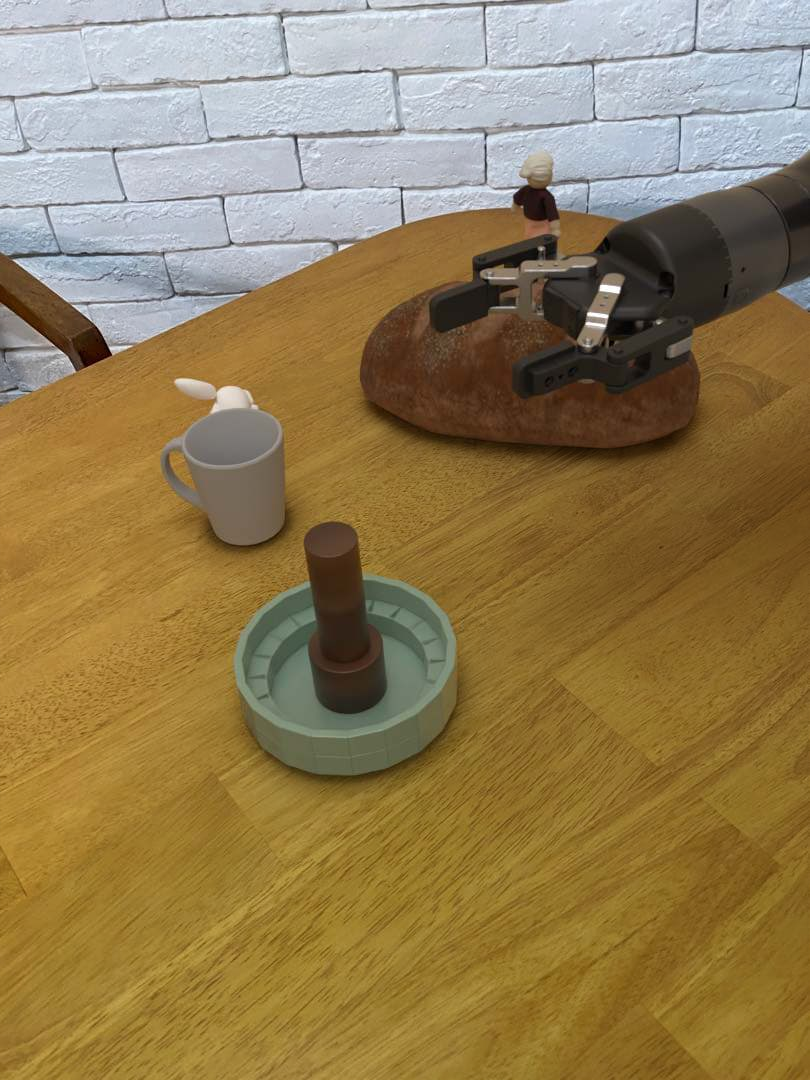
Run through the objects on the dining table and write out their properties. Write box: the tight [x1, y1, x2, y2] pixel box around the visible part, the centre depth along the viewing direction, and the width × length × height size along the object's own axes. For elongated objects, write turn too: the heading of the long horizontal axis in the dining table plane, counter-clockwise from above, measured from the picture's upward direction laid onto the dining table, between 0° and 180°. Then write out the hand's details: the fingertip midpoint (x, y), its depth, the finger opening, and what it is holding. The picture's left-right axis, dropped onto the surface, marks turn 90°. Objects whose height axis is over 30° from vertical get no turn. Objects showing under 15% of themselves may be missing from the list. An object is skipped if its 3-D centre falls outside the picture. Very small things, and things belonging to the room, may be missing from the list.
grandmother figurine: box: [510, 150, 562, 282], centre depth 113 cm, size 8×4×13 cm, turn 43°
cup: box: [159, 408, 286, 546], centre depth 87 cm, size 8×10×8 cm
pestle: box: [303, 520, 387, 714], centre depth 70 cm, size 5×5×13 cm
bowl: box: [232, 573, 459, 777], centre depth 74 cm, size 14×14×4 cm
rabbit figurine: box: [173, 377, 260, 414], centre depth 98 cm, size 6×4×8 cm
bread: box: [359, 279, 701, 449], centre depth 96 cm, size 16×29×11 cm, turn 75°
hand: (472, 348), depth 64 cm, fingers open, 8 cm apart
